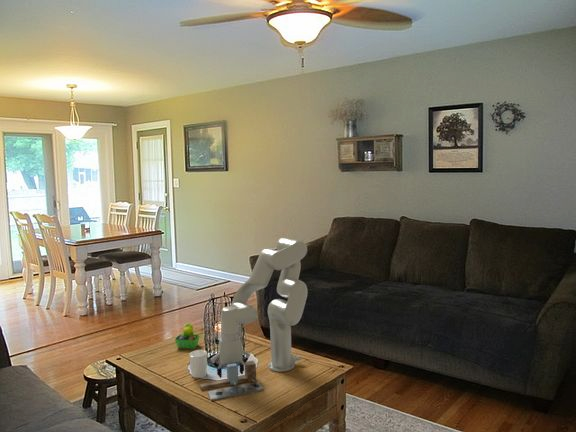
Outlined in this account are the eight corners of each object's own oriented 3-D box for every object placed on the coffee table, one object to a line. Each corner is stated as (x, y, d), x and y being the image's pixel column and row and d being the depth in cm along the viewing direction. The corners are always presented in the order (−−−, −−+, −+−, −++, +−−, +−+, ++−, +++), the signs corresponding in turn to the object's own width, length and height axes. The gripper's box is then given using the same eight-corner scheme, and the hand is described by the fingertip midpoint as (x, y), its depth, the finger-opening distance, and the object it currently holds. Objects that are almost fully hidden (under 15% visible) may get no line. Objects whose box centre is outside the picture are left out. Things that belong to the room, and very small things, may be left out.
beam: (253, 376, 211) (252, 360, 211) (258, 382, 205) (257, 366, 204) (199, 386, 203) (198, 369, 202) (202, 393, 197) (201, 376, 196)
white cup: (204, 379, 210) (203, 357, 209) (187, 377, 211) (186, 356, 210) (210, 371, 217) (209, 350, 216) (194, 370, 219) (193, 349, 218)
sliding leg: (235, 378, 209) (235, 363, 208) (240, 385, 202) (239, 369, 201) (227, 380, 207) (226, 364, 206) (230, 387, 201) (230, 370, 200)
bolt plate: (258, 383, 205) (258, 381, 204) (263, 390, 198) (263, 388, 198) (207, 393, 197) (207, 391, 197) (211, 401, 190) (211, 398, 190)
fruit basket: (174, 348, 245) (173, 327, 244) (181, 342, 253) (180, 322, 252) (195, 349, 243) (194, 328, 242) (201, 343, 252) (200, 322, 250)
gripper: (247, 330, 210) (247, 368, 211) (208, 335, 203) (209, 374, 205) (252, 336, 203) (252, 375, 204) (211, 341, 196) (212, 381, 198)
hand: (230, 374), depth 205 cm, fingers open, 9 cm apart
